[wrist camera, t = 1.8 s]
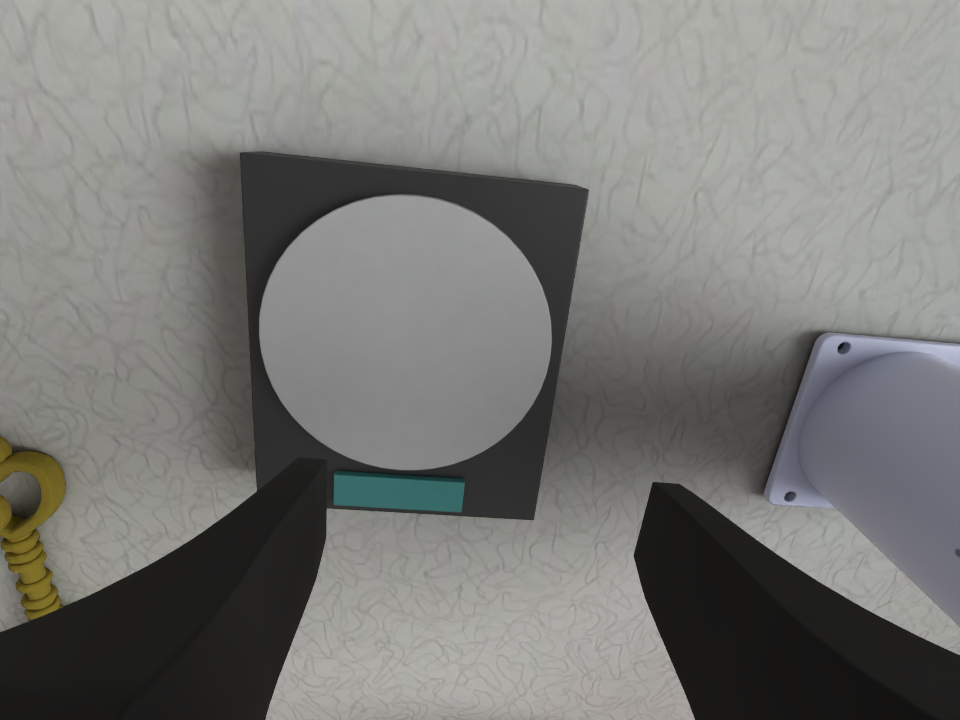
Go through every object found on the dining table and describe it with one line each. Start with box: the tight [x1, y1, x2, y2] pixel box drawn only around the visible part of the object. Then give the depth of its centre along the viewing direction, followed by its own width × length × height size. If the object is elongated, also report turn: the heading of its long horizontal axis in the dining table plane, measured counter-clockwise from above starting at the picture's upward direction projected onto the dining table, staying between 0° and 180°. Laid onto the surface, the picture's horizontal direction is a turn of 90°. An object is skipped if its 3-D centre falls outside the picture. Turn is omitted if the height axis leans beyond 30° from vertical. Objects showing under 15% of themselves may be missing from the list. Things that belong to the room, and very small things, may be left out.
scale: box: [240, 152, 589, 520], centre depth 20 cm, size 11×13×2 cm
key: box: [0, 437, 65, 622], centre depth 24 cm, size 12×1×5 cm
